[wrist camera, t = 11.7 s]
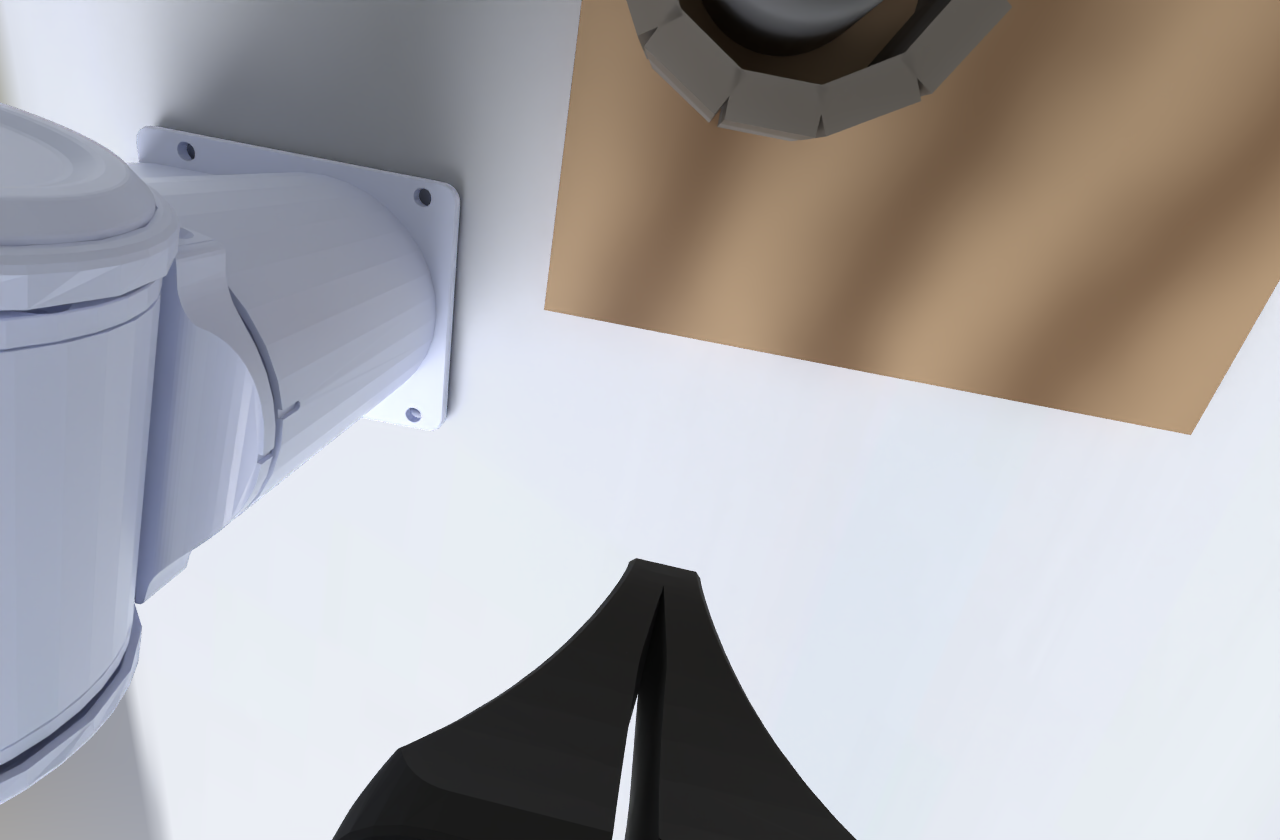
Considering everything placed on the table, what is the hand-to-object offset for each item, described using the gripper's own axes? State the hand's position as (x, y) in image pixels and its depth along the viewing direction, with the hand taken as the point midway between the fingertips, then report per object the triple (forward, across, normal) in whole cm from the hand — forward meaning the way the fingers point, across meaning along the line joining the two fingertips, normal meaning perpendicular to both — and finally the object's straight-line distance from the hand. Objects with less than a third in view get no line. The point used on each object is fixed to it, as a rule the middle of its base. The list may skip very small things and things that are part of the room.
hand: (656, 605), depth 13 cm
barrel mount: (+10, -5, -11) cm, 16 cm away
